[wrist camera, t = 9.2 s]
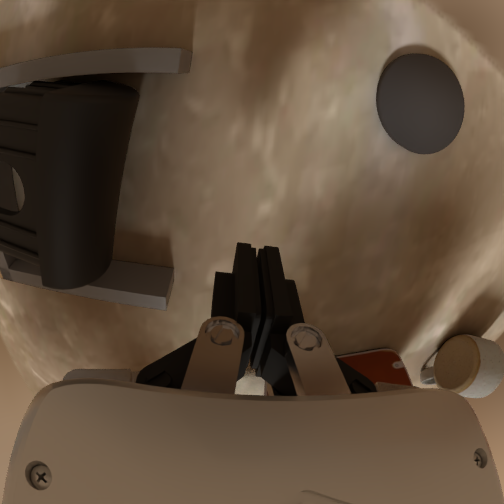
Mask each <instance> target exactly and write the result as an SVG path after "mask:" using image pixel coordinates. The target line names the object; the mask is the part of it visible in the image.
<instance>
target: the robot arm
mask: <svg viewBox="0 0 504 504" xmlns="http://www.w3.org/2000/svg"><path fill="white" fill-rule="evenodd" d="M249 359H250V366H251V368H254V369H255V372H256V377H261V378H263V379H264V380H265V381H266V382H267V391H268V395H269V396H260V395H239V394H235V388H236V382H237V381H238V380H239V379H241V378H242V377H243V376H244V374H245V370H246V368H247V366H248V363H249ZM2 504H504V498H503V493H502V489H501V484H500V480H499V476H498V473H497V469H496V466H495V463H494V460H493V456H492V453H491V450H490V447H489V444H488V442H487V439H486V436H485V434H484V431H483V429H482V426H481V424H480V422H479V420H478V418H477V416H476V414H475V412H474V410H473V408H472V407H471V405H470V404H469V402H468V401H467V400H466V399H465V398H464V397H463V396H461V395H459V394H457V393H455V392H452V391H448V390H444V389H436V388H419V387H416V386H408V385H399V384H391V383H384V382H376V384H373V382H372V381H371V380H370V379H368V378H367V377H366V376H364V375H363V374H361V373H360V372H358V371H357V370H355V369H354V368H352V367H351V366H349V365H348V364H346V363H345V362H343V361H342V360H340V359H339V358H338V357H336V356H335V355H334V354H333V352H332V350H331V347H330V345H329V343H328V341H327V339H326V337H325V335H324V334H323V332H322V331H321V330H320V329H318V328H317V327H315V326H313V325H310V324H307V323H305V322H304V318H303V314H302V309H301V305H300V301H299V297H298V293H297V289H296V284H295V281H294V280H288V279H285V276H284V272H283V267H282V262H281V257H280V253H279V248H278V247H272V246H264V249H259V251H258V255H257V257H256V248H251V244H247V243H239V242H238V243H237V247H236V253H235V259H234V265H233V271H232V273H224V272H216V273H215V281H214V290H213V299H212V310H211V318H210V319H207V320H206V321H205V322H204V323H203V324H202V326H201V327H200V331H199V334H198V337H197V338H196V339H194V340H192V341H190V342H189V343H187V344H185V345H183V346H182V347H180V348H178V349H177V350H175V351H173V352H171V353H169V354H168V355H166V356H164V357H162V358H161V359H159V360H157V361H155V362H153V363H152V364H150V365H148V366H146V367H145V368H143V369H142V370H141V371H140V372H131V370H130V369H75V370H72V371H70V372H68V373H67V374H66V375H65V376H64V378H63V381H59V382H55V383H52V384H49V385H47V386H45V387H44V388H42V389H41V390H40V391H39V392H38V393H37V394H36V396H35V397H34V399H33V400H32V402H31V403H30V405H29V407H28V409H27V411H26V413H25V416H24V418H23V420H22V423H21V425H20V428H19V431H18V434H17V437H16V441H15V444H14V447H13V451H12V454H11V458H10V463H9V467H8V472H7V477H6V482H5V488H4V494H3V501H2Z"/></svg>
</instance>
